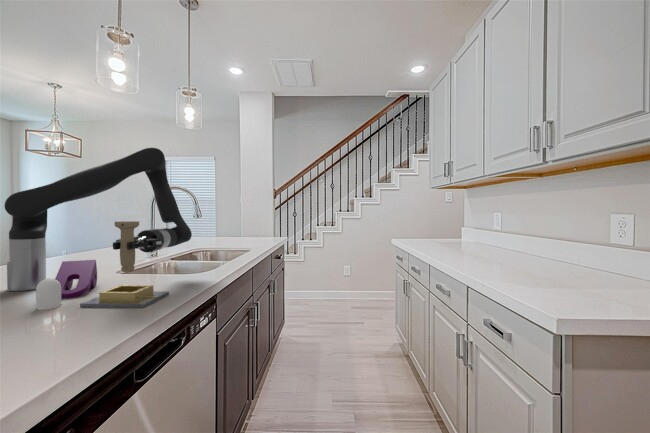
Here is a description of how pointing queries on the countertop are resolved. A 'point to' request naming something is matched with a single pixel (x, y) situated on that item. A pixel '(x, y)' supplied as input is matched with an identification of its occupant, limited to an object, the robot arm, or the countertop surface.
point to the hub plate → (126, 297)
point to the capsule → (48, 294)
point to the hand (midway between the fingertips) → (121, 246)
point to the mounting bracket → (77, 277)
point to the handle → (126, 236)
